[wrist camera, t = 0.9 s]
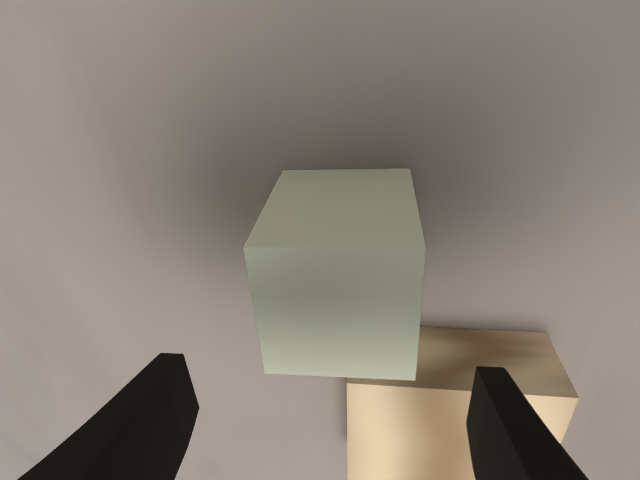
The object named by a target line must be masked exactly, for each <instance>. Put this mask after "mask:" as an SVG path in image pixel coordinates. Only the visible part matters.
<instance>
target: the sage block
mask: <svg viewBox="0 0 640 480" xmlns="http://www.w3.org/2000/svg"><path fill="white" fill-rule="evenodd" d="M243 250H244V256H245V262H246V267H247V273H248V279H249V285H250V290H251V296H252V302H253V308H254V314H255V319H256V325H257V331H258V337H259V342H260V348H261V354H262V360H263V366H264V371H265V373H266V374H287V375H308V376H329V377H350V378H371V379H392V380H413V381H415V379H416V367H417V354H418V342H419V330H420V317H421V305H422V293H423V280H424V268H425V256H426V246H425V241H424V236H423V231H422V226H421V221H420V216H419V211H418V206H417V201H416V196H415V191H414V186H413V181H412V176H411V171H410V169H335V170H283V171H282V173H281V175H280V177H279V178H278V180H277V182H276V184H275V186H274V188H273V190H272V192H271V194H270V196H269V198H268V200H267V202H266V204H265V206H264V208H263V210H262V211H261V213H260V215H259V217H258V219H257V221H256V223H255V225H254V227H253V229H252V231H251V233H250V235H249V237H248V239H247V241H246V243H245V244H244V246H243Z"/></svg>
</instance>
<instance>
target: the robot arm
mask: <svg viewBox="0 0 640 480" xmlns="http://www.w3.org/2000/svg"><path fill="white" fill-rule="evenodd" d="M198 410H199V405H198V402H197V398H196V395H195V392H194V388H193V385H192V382H191V378H190V375H189V372H188V368H187V365H186V362H185V358H184V355H183V354H173V353H160V354H159V355H158V356H157V357H156V358H155V359H154V360H152V361H151V362H150V363H149V364H148V365H147V366H146V367H145V368H144V369H143V370H142V371H141V372H140V373H139V374H138V375H137V376H135V377H134V378H133V379H132V380H131V381H130V382H129V383H128V384H127V385H126V386H125V387H124V388H123V389H122V390H121V391H120V392H118V393H117V394H116V395H115V396H114V397H113V398H112V399H111V400H110V401H109V402H108V403H107V404H106V405H104V406H103V407H102V408H101V409H100V410H99V411H98V412H97V413H96V414H95V415H94V416H92V417H91V418H90V419H89V420H88V421H87V422H86V423H85V424H84V425H82V426H81V427H80V428H79V429H78V430H77V431H75V432H74V433H73V434H72V435H71V436H70V437H68V438H67V439H66V440H65V441H64V442H63V443H61V444H60V445H59V446H58V447H57V448H56V449H54V450H53V451H52V452H51V453H50V454H49V455H47V456H46V457H45V458H44V459H43V460H41V461H40V462H39V463H38V464H36V465H35V466H34V467H33V468H31V469H30V470H29V471H28V472H26V473H25V474H24V475H23V476H21V477H20V478H19V479H17V480H174V479H175V477H176V474H177V472H178V470H179V467H180V465H181V462H182V460H183V458H184V455H185V453H186V450H187V448H188V445H189V441H190V438H191V435H192V432H193V428H194V425H195V421H196V418H197V414H198ZM466 427H467V434H468V441H469V448H470V454H471V461H472V467H473V471H474V475H475V479H476V480H589V479H588V478H587V477H586V476H585V474H584V473H583V472H582V471H581V470H580V468H579V467H578V466H577V465H576V463H575V462H574V461H573V460H572V458H571V457H570V456H569V455H568V453H567V452H566V451H565V449H564V448H563V447H562V446H561V444H560V443H559V442H558V441H557V439H556V438H555V437H554V435H553V434H552V433H551V431H550V430H549V429H548V428H547V426H546V425H545V424H544V422H543V421H542V419H541V418H540V417H539V415H538V414H537V413H536V411H535V410H534V408H533V407H532V406H531V404H530V403H529V402H528V400H527V399H526V397H525V396H524V394H523V393H522V392H521V390H520V389H519V387H518V386H517V384H516V383H515V381H514V380H513V378H512V377H511V376H510V374H509V373H508V371H507V370H506V369H505V368H504V367H486V366H476V370H475V376H474V381H473V387H472V392H471V398H470V403H469V409H468V415H467V420H466Z"/></svg>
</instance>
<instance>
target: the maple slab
mask: <svg viewBox="0 0 640 480" xmlns="http://www.w3.org/2000/svg"><path fill="white" fill-rule="evenodd" d="M476 366H486V367H504V368H505V369H506V370H507V371H508V373H509V374H510V376H511V377H512V378H513V380H514V381H515V383H516V384H517V386H518V387H519V389H520V390H521V392H522V393H523V394H524V396H525V397H526V399H527V400H528V402H529V403H530V404H531V406H532V407H533V408H534V410H535V411H536V413H537V414H538V415H539V417H540V418H541V419H542V421H543V422H544V424H545V425H546V426H547V428H548V429H549V430H550V431H551V433H552V434H553V435H554V437H555V438H556V439H557V441H558V442H559V443H560V444H561V442H562V439H563V437H564V434H565V432H566V429H567V427H568V424H569V422H570V419H571V417H572V414H573V412H574V409H575V407H576V404H577V402H578V399H579V397H578V395H577V393H576V391H575V389H574V387H573V385H572V383H571V381H570V379H569V377H568V375H567V373H566V371H565V369H564V367H563V365H562V363H561V361H560V359H559V357H558V355H557V353H556V351H555V349H554V347H553V345H552V343H551V341H550V339H549V337H548V335H547V333H545V332H524V331H503V330H481V329H460V328H439V327H420V330H419V342H418V354H417V367H416V379H415V381H413V380H392V379H371V378H350V377H347V473H348V480H476V479H475V475H474V471H473V467H472V461H471V454H470V448H469V441H468V434H467V427H466V420H467V415H468V409H469V403H470V398H471V392H472V387H473V381H474V376H475V370H476Z"/></svg>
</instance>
